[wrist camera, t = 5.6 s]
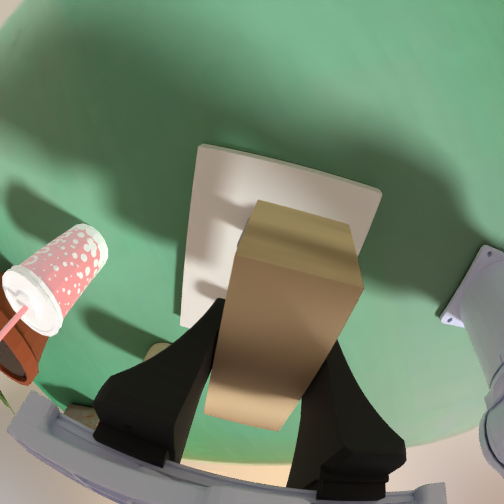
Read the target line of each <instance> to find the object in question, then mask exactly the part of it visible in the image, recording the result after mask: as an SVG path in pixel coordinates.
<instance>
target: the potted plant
mask: <svg viewBox="0 0 504 504" xmlns="http://www.w3.org/2000/svg"><path fill="white" fill-rule="evenodd" d="M5 272H6V271H5ZM5 272H3V273H1V274H0V331H1V330H2V329H3V328H4V326H5V325H6V324H7V323H8V322H9V321H10V320H11V319H12V318H13V316H14V315H15V314H16V312H15V311H14V310H13V308H12V307H11V305H10V303H9V301H8V300H7V298H6V295H5V292H4V289H3V286H2V276H3V275H4V273H5ZM48 337H49V336H45V335H41V334H40V333H38V332H36V331H34V330H33V329H31V328H30V327H29V326H28V325H27V324H26V323H25V322H23V321H22V320H21V318H20V319H19V320H18V321H17V323H16V324H15V325H14V326H13V327H12V328H11V329H10V331H9V332H8V333H7V334H6V335H5V336H4V338H3V339H2V340H1V341H0V371H1V372H3V373H4V374H5V375H7V376H8V377H9V378H11V379H12V380H14V381H16V382H18V383H20V384H22V385H27V386H28V385H29V384H31V383H32V381H33V380H34V378H35V377H36V375H37V374H38V373H39V371H38V363H39V360H40V358H41V355H42V352H43V350H44V347H45V345H46V342H47V340H48ZM0 399H1V400H2V401H3V402H4V404H5V405H6V406H8V407H9V408H11V407H10V406H9V404H8V403H7V401H6V399H5V398H4V396H3V394H2V393H1V391H0ZM13 413H14V412H13Z"/></svg>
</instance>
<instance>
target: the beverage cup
mask: <svg viewBox="0 0 504 504" xmlns="http://www.w3.org/2000/svg"><path fill="white" fill-rule="evenodd" d="M107 258H108V248H107V245H106V243H105V240H104V239H103V237H102V236H101V235H100V233H99V232H98V231H97V230H96V229H94V228H93V227H92V226H90V225H87V224H84V223H83V224H77V225H75V226H74V227H72V228H71V229H69V230H68V231H66V232H65V233H63V234H62V235H60V236H59V237H57V238H56V239H54V240H53V241H52V242H50V243H49V244H47V245H46V246H44V247H43V248H42V249H40V250H39V251H37V252H36V253H35V254H33V255H32V256H30V257H29V258H28V259H26V260H25V261H24V262H22V263H21V264H20V265H15V266H12V268H11V269H8V270H7V271H6V272H5V273H4V275H3V276H2V286H3V289H4V292H5V295H6V298H7V300H8V301H9V303H10V305H11V307H12V308H13V310H14V311H15V312H16V314H15V315H14V316H13V318H12V319H11V320H10V321H9V322H8V323H7V324H6V325H5V326H4V328H3V329H2V330H1V331H0V341H1V340H2V339H3V338H4V336H5V335H6V334H7V333H8V332H9V331H10V329H11V328H12V327H13V326H14V325H15V324H16V323H17V321H18V320H19V319H20V318H21V320H22V321H23V322H25V323H26V324H27V325H28V326H29V327H30V328H31V329H33V330H34V331H36V332H38V333H40V334H41V335H45V336H50V337H51V336H53V335H55V334H57V332H58V330H59V328H60V327H61V326H62V322H63V318H64V317H65V316H66V314H67V313H68V311H69V310H70V309H71V307H72V306H73V305H74V303H75V302H76V301H77V299H78V298H79V297H80V295H81V294H82V293H83V291H84V290H85V289H86V287H87V286H88V285H89V283H90V282H91V281H92V279H93V278H94V277H95V276H96V274H97V273H98V272H99V271H100V269H101V268H102V267H103V266H104V264H105V263H106V261H107Z"/></svg>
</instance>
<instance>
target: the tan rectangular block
mask: <svg viewBox="0 0 504 504" xmlns="http://www.w3.org/2000/svg"><path fill="white" fill-rule="evenodd" d="M363 290H364V285H363V280H362V276H361V271H360V267H359V263H358V258H357V254H356V250H355V246H354V242H353V238H352V234H351V230H350V226H349V224H346V223H342V222H339V221H335V220H332V219H329V218H325V217H322V216H318V215H314V214H311V213H307V212H304V211H300V210H296V209H293V208H289V207H285V206H282V205H278V204H274V203H270V202H266V201H262V200H259V199H258V200H257V202H256V205H255V207H254V210H253V212H252V214H251V217H250V219H249V222H248V224H247V226H246V229H245V231H244V233H243V236H242V238H241V241H240V243H239V245H238V248H237V250H236V253H235V256H234V261H233V266H232V271H231V275H230V280H229V285H228V290H227V295H226V300H225V305H224V310H223V315H222V320H221V325H220V330H219V335H218V341H217V346H216V351H215V356H214V361H213V366H212V372H211V377H210V382H209V387H208V393H207V398H206V403H205V409H204V414H207V415H210V416H214V417H217V418H221V419H225V420H229V421H233V422H237V423H241V424H245V425H249V426H254V427H258V428H263V429H268V430H273V431H279V430H280V428H281V427H282V426H283V424H284V423H285V421H286V420H287V418H288V417H289V415H290V414H291V412H292V411H293V409H294V408H295V406H296V405H297V403H298V402H299V400H300V399H301V397H302V396H303V394H304V393H305V391H306V390H307V388H308V387H309V385H310V383H311V382H312V380H313V379H314V377H315V375H316V374H317V372H318V370H319V369H320V367H321V366H322V364H323V362H324V361H325V359H326V357H327V355H328V354H329V352H330V350H331V349H332V347H333V345H334V343H335V342H336V340H337V338H338V336H339V335H340V333H341V331H342V329H343V327H344V326H345V324H346V322H347V320H348V318H349V316H350V315H351V313H352V311H353V309H354V307H355V305H356V303H357V301H358V299H359V297H360V296H361V294H362V292H363Z"/></svg>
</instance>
